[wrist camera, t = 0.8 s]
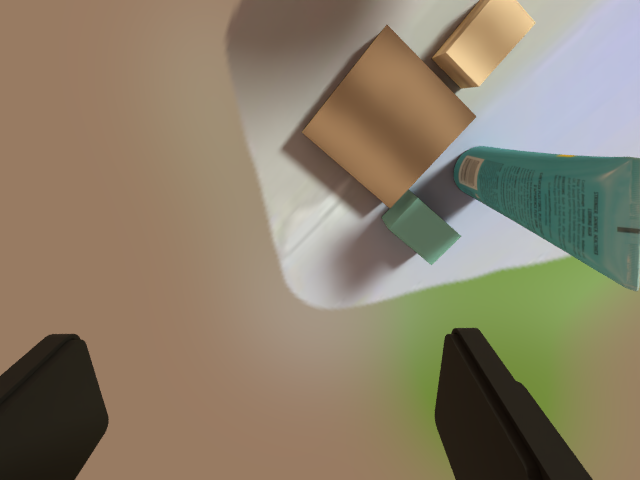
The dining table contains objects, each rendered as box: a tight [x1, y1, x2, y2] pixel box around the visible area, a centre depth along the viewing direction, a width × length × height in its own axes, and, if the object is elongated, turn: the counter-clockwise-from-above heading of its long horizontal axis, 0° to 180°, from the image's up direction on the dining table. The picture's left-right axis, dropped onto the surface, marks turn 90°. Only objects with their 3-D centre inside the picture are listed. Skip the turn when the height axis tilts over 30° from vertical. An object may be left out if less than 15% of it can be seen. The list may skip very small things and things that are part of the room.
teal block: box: [382, 189, 461, 265], centre depth 36 cm, size 6×4×4 cm, turn 50°
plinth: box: [302, 25, 476, 208], centre depth 33 cm, size 11×11×3 cm
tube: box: [454, 146, 640, 291], centre depth 27 cm, size 7×5×19 cm, turn 22°
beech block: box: [432, 0, 535, 89], centre depth 30 cm, size 6×4×4 cm, turn 141°
